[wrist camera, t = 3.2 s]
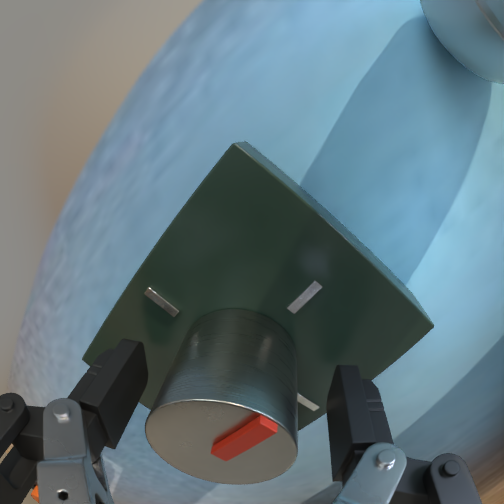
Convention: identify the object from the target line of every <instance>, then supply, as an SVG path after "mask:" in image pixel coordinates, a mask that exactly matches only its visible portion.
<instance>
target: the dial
mask: <svg viewBox="0 0 504 504" xmlns="http://www.w3.org/2000/svg"><path fill="white" fill-rule="evenodd" d="M145 433H146V437H147V440H148V442H149V444H150V445H151V447H152V448H153V450H154V451H155V452H156V453H157V454H158V455H159V456H160V457H161V458H162V459H163V460H165V461H166V462H167V463H169V464H170V465H172V466H173V467H175V468H177V469H178V470H180V471H182V472H184V473H186V474H189V475H191V476H194V477H196V478H200V479H203V480H207V481H211V482H216V483H222V484H238V485H239V484H253V483H259V482H263V481H267V480H270V479H273V478H275V477H277V476H279V475H281V474H283V473H284V472H285V471H287V470H288V469H289V468H290V467H291V466H292V464H293V463H294V462H295V459H296V457H297V452H298V406H297V358H296V350H295V346H294V344H293V342H292V339H291V338H290V336H289V335H288V333H287V332H286V331H285V330H284V329H283V328H282V327H281V326H280V325H279V324H277V323H276V322H275V321H273V320H272V319H270V318H268V317H266V316H264V315H261V314H259V313H256V312H252V311H248V310H241V309H226V310H220V311H215V312H212V313H209V314H207V315H205V316H203V317H201V318H200V319H199V320H197V321H196V322H195V323H194V324H193V325H192V326H191V327H190V328H189V330H188V332H187V333H186V335H185V337H184V340H183V342H182V344H181V346H180V348H179V350H178V352H177V354H176V357H175V359H174V361H173V363H172V365H171V367H170V369H169V372H168V374H167V376H166V378H165V380H164V382H163V384H162V387H161V389H160V391H159V393H158V395H157V398H156V400H155V402H154V404H153V406H152V408H151V411H150V413H149V415H148V417H147V419H146V423H145Z"/></svg>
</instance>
